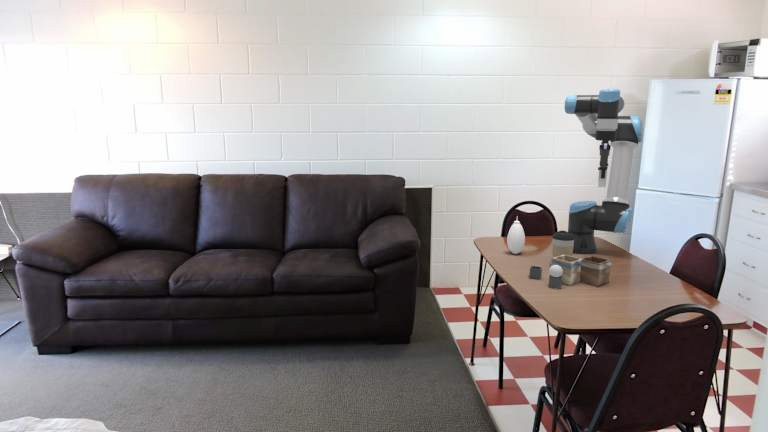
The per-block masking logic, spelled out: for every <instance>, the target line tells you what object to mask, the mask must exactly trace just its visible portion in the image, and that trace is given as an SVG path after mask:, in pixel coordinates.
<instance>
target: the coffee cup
mask: <svg viewBox="0 0 768 432" xmlns="http://www.w3.org/2000/svg"><path fill="white" fill-rule="evenodd" d="M551 238H552V243H551V245H552V247H551V248H552V250H551V251H552V258H554V257H558V256H561V255H568V256H573V254H574V253H573V247H574V240H575V236H573V235H572V233H570V232H568V231H566V230H558V231H555V233H553V234H552V236H551Z"/></svg>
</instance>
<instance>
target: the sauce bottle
mask: <svg viewBox="0 0 768 432" xmlns="http://www.w3.org/2000/svg"><path fill="white" fill-rule="evenodd" d="M518 219H519V218H518V215H517V216H516V220H514V221H513V223H512V224H511V226H510V228H509V231H508V233H507V237H506V245H507V248H508V250H509V251H510V252H511V253H512V254H514V255H518V254H519V253H521V252H522V251H523V249H524V247H525V244H526V235H525V231H524V228H523V225H522V224H521V222H520V221H519V220H518Z"/></svg>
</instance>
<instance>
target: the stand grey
mask: <svg viewBox="0 0 768 432" xmlns="http://www.w3.org/2000/svg"><path fill="white" fill-rule="evenodd" d="M561 278H562V276H561V277H559V278H556V277H552V276H551V275H550V274H549V277H548V288H553V289H561V287H562V283H561Z"/></svg>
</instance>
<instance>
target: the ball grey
mask: <svg viewBox="0 0 768 432" xmlns="http://www.w3.org/2000/svg"><path fill="white" fill-rule="evenodd" d="M548 274H549V276H550V275H551V276H552V277H556V278H559V277H561V276H562V274H563V270H562V268H561V267H560V266H559V265H553V266H552V265H551V266H550V267H549V268H548Z"/></svg>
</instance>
